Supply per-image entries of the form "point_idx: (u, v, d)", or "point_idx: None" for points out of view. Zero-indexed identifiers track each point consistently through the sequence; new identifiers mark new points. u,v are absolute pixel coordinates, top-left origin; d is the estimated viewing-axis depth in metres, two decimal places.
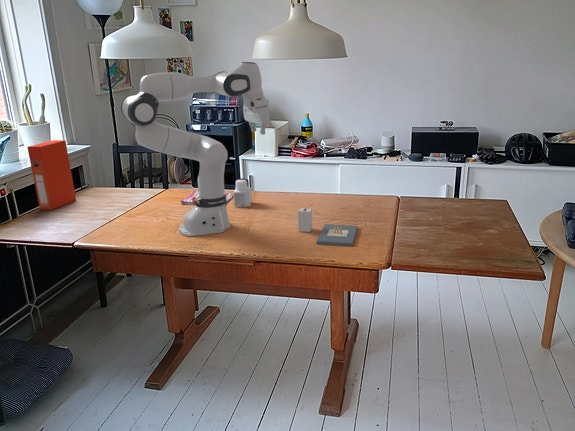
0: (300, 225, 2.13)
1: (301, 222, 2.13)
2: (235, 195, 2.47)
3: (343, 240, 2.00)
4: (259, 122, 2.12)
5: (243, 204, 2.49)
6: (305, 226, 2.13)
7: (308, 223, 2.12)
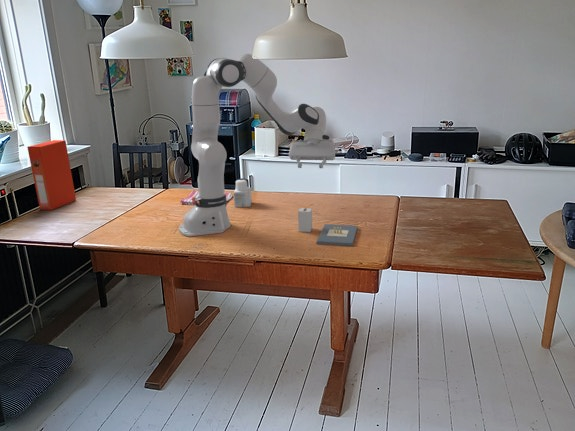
0: (300, 225, 2.13)
1: (301, 222, 2.13)
2: (235, 195, 2.47)
3: (343, 240, 2.00)
4: (327, 154, 2.19)
5: (243, 204, 2.49)
6: (305, 226, 2.13)
7: (308, 223, 2.12)
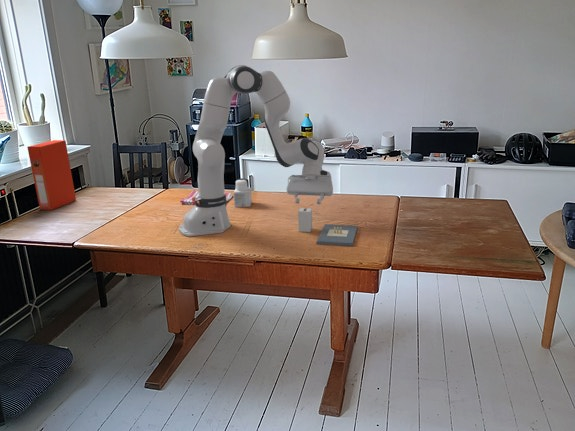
0: (300, 225, 2.13)
1: (301, 222, 2.13)
2: (235, 195, 2.47)
3: (343, 240, 2.00)
4: (325, 190, 2.17)
5: (243, 204, 2.49)
6: (305, 226, 2.13)
7: (308, 223, 2.12)
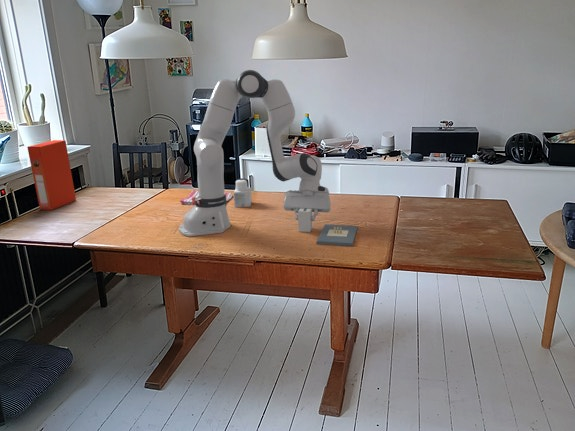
0: (300, 225, 2.13)
1: (301, 222, 2.13)
2: (235, 195, 2.47)
3: (343, 240, 2.00)
4: (322, 206, 2.13)
5: (243, 204, 2.49)
6: (305, 226, 2.13)
7: (308, 223, 2.12)
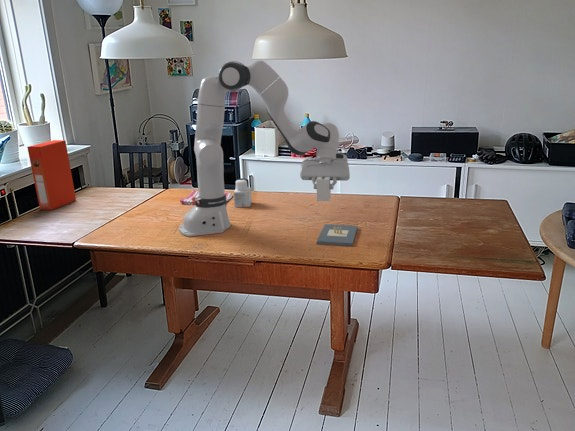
0: (318, 194, 2.05)
1: (320, 191, 2.04)
2: (235, 195, 2.47)
3: (343, 240, 2.00)
4: (341, 174, 2.04)
5: (243, 204, 2.49)
6: (324, 195, 2.04)
7: (327, 192, 2.04)
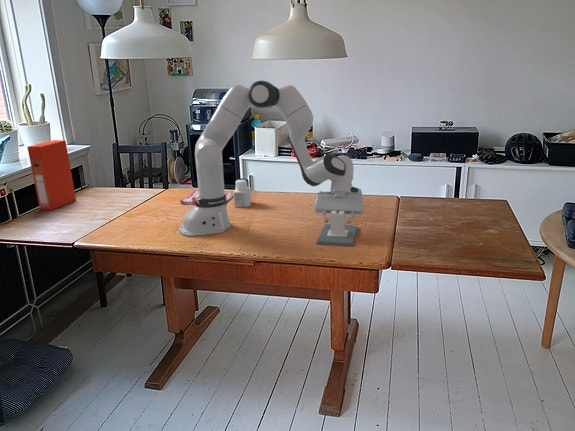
0: (332, 228, 2.05)
1: (334, 225, 2.05)
2: (235, 195, 2.47)
3: (343, 240, 2.00)
4: (356, 208, 2.05)
5: (243, 204, 2.49)
6: (338, 229, 2.05)
7: (341, 226, 2.04)
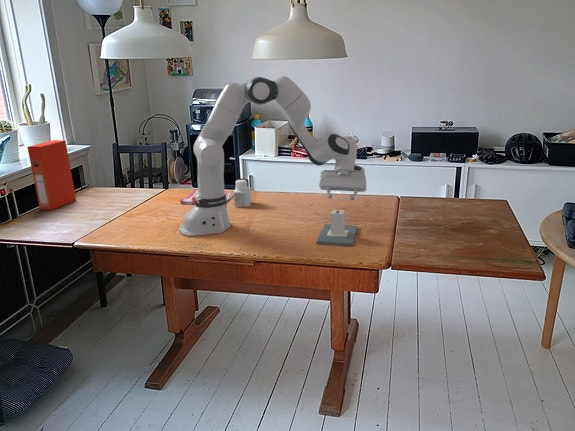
0: (332, 228, 2.05)
1: (334, 225, 2.05)
2: (235, 195, 2.47)
3: (343, 240, 2.00)
4: (359, 185, 2.15)
5: (243, 204, 2.49)
6: (338, 229, 2.05)
7: (341, 226, 2.04)
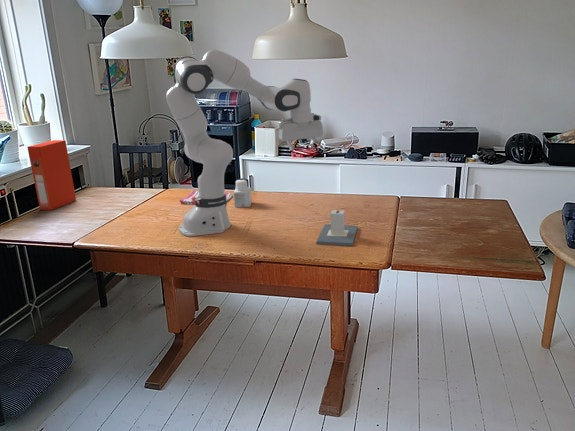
0: (332, 228, 2.05)
1: (334, 225, 2.05)
2: (235, 195, 2.47)
3: (343, 240, 2.00)
4: (317, 134, 2.23)
5: (243, 204, 2.49)
6: (338, 229, 2.05)
7: (341, 226, 2.04)
